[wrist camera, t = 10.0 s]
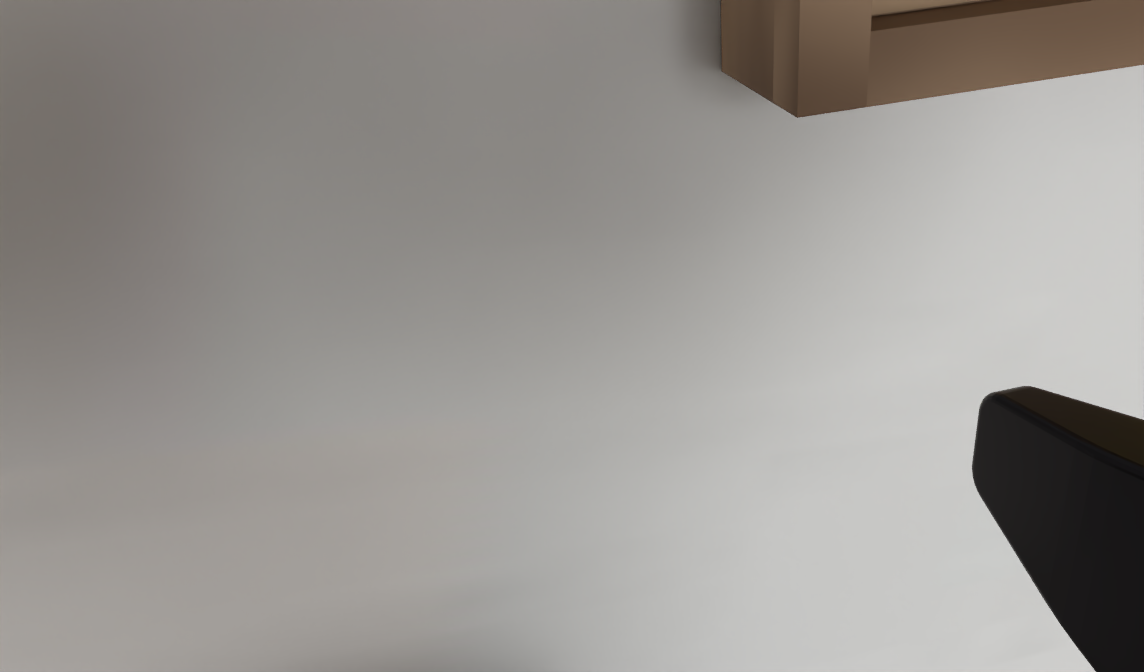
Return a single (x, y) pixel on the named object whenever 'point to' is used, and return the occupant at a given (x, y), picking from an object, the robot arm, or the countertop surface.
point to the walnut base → (918, 47)
